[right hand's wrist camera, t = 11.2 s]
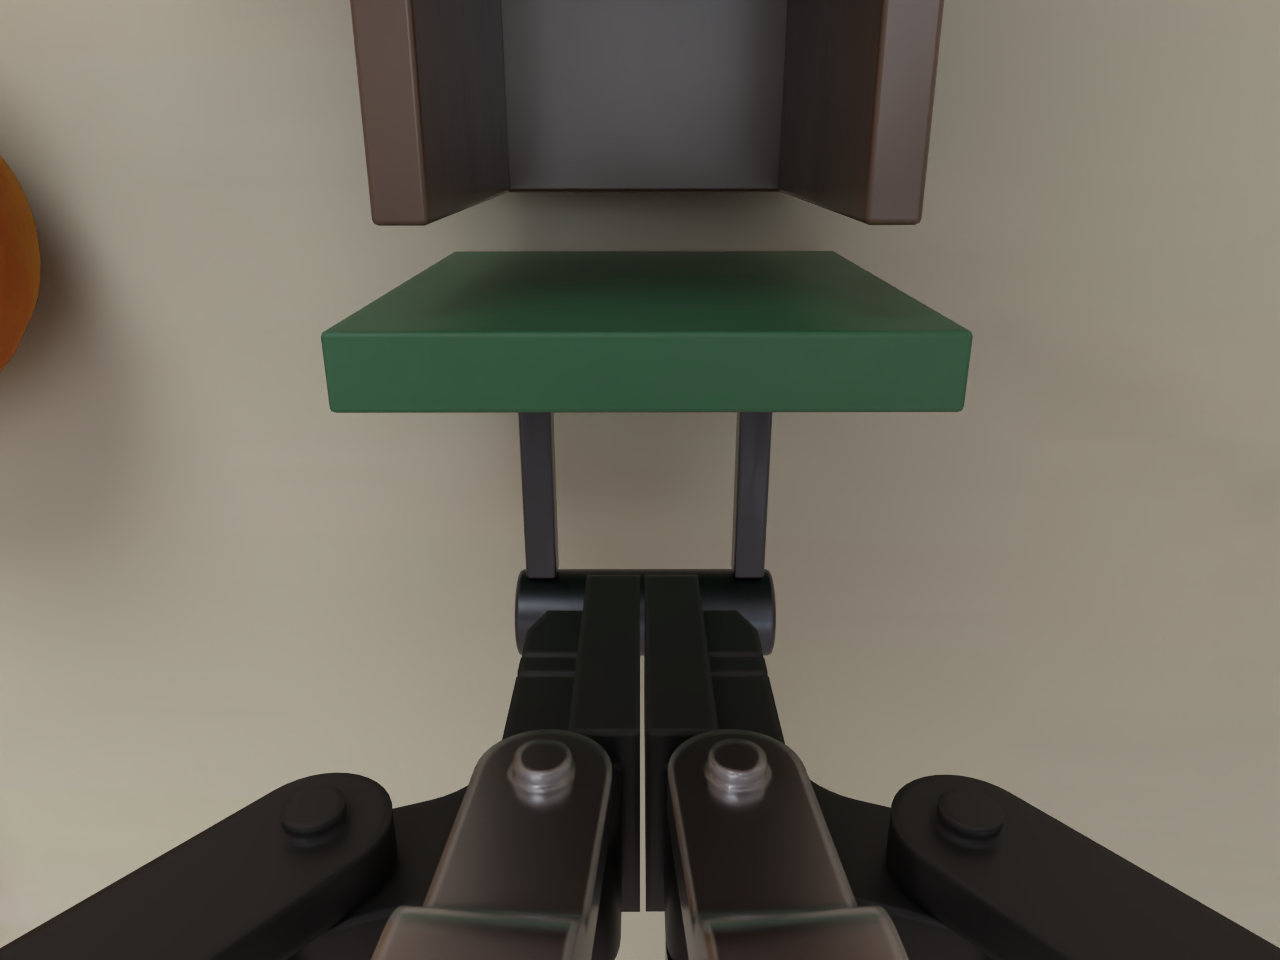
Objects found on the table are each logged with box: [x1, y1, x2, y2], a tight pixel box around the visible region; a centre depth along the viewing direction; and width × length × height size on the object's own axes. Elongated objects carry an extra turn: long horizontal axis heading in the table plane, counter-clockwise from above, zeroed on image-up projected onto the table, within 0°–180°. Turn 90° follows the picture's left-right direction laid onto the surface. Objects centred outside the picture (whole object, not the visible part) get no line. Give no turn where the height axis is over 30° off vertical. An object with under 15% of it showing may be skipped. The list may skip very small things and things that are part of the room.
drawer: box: [321, 0, 973, 655], centre depth 16 cm, size 23×9×10 cm, turn 0°
